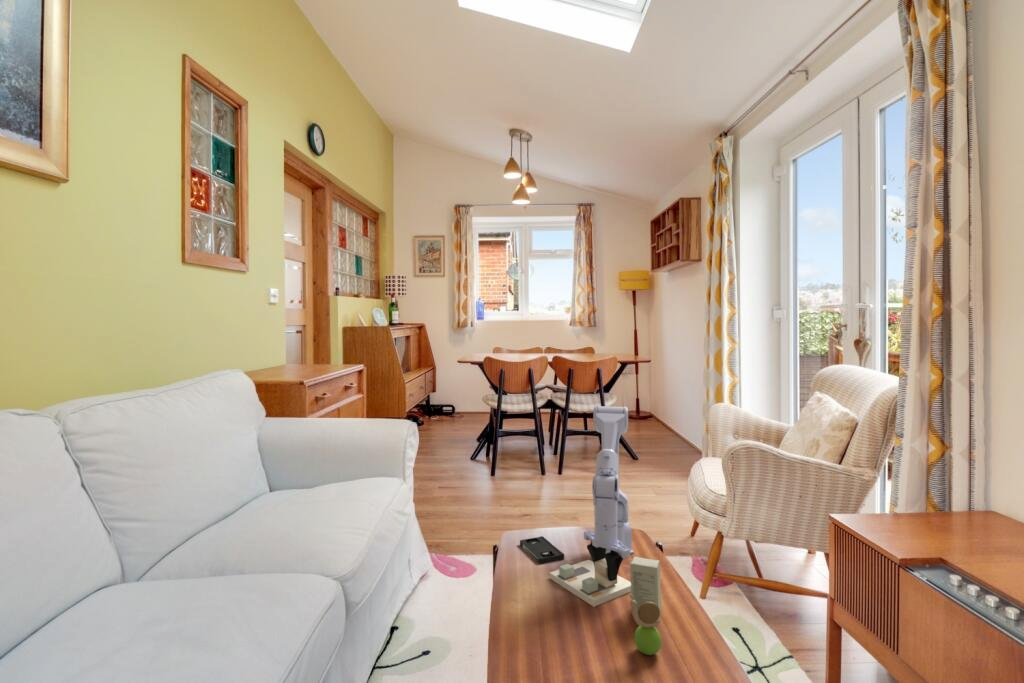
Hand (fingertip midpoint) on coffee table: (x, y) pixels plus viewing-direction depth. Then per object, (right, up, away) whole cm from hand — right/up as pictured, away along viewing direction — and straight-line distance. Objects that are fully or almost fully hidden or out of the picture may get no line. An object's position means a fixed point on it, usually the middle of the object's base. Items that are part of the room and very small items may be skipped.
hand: (606, 576), depth 127 cm
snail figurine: (+3, -4, -25) cm, 26 cm away
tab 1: (-10, -2, +4) cm, 11 cm away
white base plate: (-3, -4, +3) cm, 6 cm away
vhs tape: (-15, -4, +23) cm, 28 cm away
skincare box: (+7, -4, -11) cm, 14 cm away
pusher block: (0, -2, 0) cm, 2 cm away
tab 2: (-5, -2, -3) cm, 6 cm away
